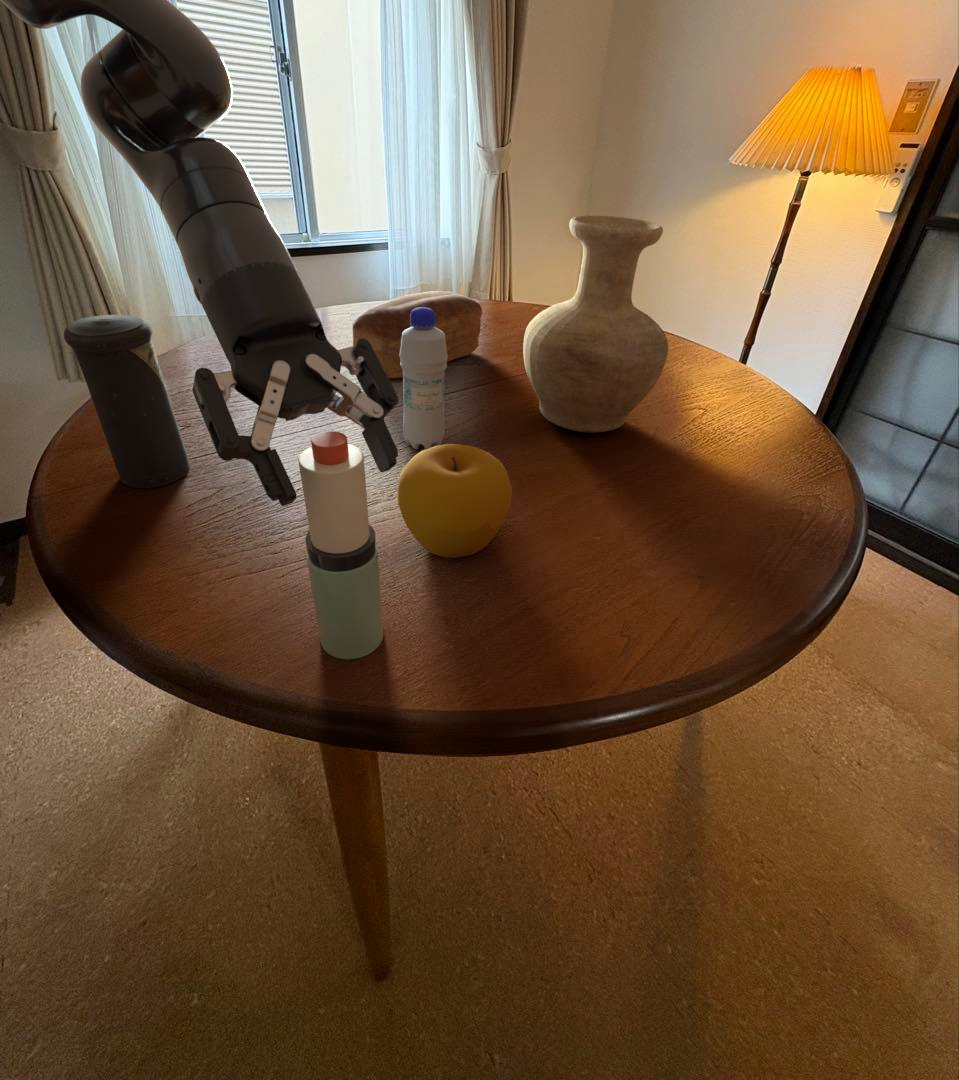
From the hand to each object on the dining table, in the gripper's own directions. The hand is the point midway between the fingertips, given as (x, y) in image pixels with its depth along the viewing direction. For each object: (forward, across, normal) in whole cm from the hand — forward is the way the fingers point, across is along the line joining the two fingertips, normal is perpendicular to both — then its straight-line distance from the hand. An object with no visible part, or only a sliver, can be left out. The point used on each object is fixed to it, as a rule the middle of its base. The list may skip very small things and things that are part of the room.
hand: (342, 484), depth 43 cm
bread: (-29, +50, +54) cm, 80 cm away
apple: (+7, +17, +18) cm, 26 cm away
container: (-18, -5, +43) cm, 47 cm away
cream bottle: (+3, 0, +5) cm, 6 cm away
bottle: (-8, +29, +33) cm, 45 cm away
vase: (-2, +56, +27) cm, 62 cm away
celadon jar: (+12, 0, +14) cm, 18 cm away
